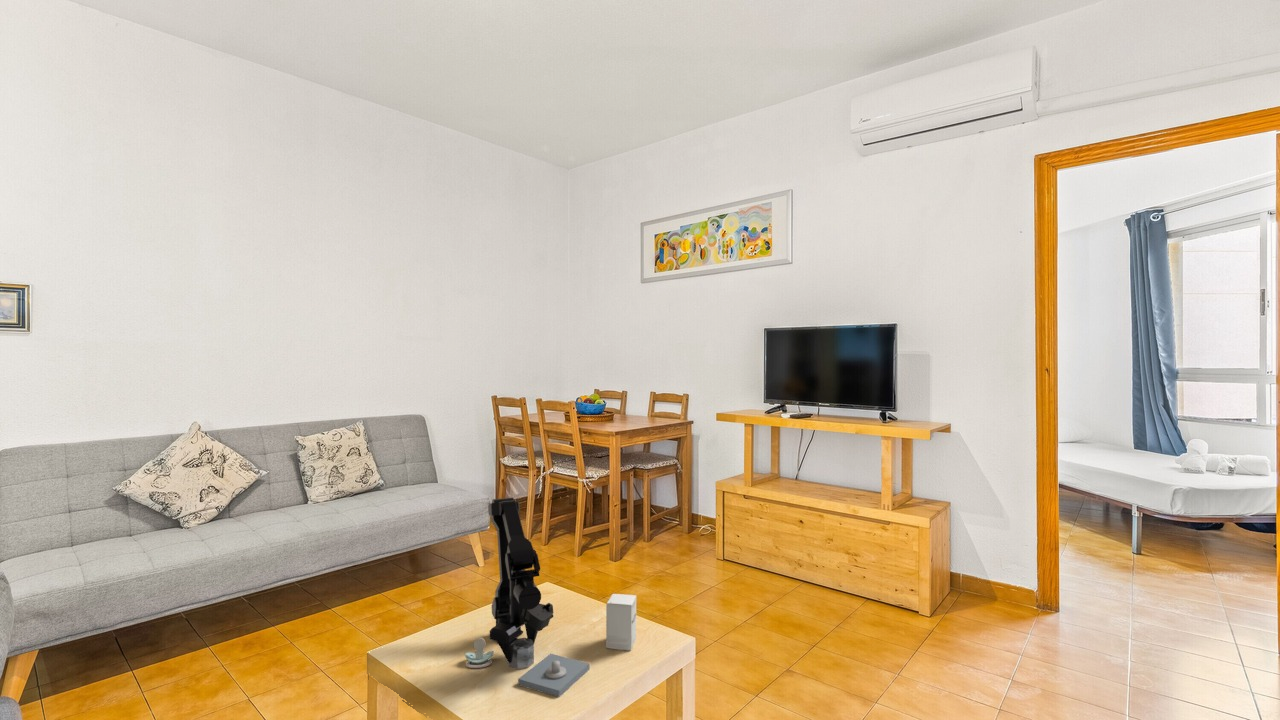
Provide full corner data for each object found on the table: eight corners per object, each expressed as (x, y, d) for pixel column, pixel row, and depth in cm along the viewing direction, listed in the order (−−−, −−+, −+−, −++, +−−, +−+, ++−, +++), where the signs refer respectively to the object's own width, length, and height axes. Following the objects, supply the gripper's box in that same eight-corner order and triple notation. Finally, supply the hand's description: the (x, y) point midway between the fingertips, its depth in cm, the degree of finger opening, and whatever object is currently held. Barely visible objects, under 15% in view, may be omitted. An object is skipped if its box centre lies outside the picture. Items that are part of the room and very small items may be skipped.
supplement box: (631, 651, 163) (631, 605, 163) (605, 648, 164) (605, 602, 164) (637, 638, 170) (637, 594, 170) (612, 636, 171) (612, 592, 171)
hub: (503, 665, 155) (503, 646, 155) (518, 654, 161) (518, 636, 161) (523, 671, 152) (523, 651, 152) (538, 659, 158) (538, 641, 158)
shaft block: (518, 684, 146) (518, 667, 146) (550, 659, 158) (550, 643, 158) (559, 696, 140) (559, 678, 140) (589, 669, 153) (589, 652, 153)
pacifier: (492, 669, 154) (494, 656, 160) (492, 645, 153) (494, 634, 159) (463, 671, 153) (466, 659, 158) (462, 647, 152) (466, 635, 158)
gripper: (524, 614, 144) (524, 678, 144) (566, 587, 161) (566, 645, 161) (488, 606, 149) (488, 668, 149) (532, 581, 166) (532, 637, 166)
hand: (520, 654), depth 156 cm, fingers open, 9 cm apart
